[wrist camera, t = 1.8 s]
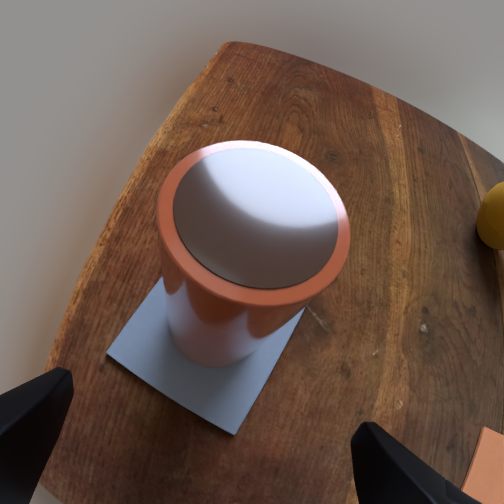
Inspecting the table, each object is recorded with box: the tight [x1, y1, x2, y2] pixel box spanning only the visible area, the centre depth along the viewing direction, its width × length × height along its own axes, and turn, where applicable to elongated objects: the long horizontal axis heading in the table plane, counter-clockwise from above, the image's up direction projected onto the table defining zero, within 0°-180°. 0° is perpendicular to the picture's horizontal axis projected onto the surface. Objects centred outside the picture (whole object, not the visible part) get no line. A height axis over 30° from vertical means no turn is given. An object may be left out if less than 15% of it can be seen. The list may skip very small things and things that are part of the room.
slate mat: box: [106, 277, 305, 435], centre depth 22 cm, size 12×10×1 cm
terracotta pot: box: [156, 140, 351, 368], centre depth 15 cm, size 6×6×14 cm
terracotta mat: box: [461, 427, 504, 504], centre depth 17 cm, size 14×12×1 cm
